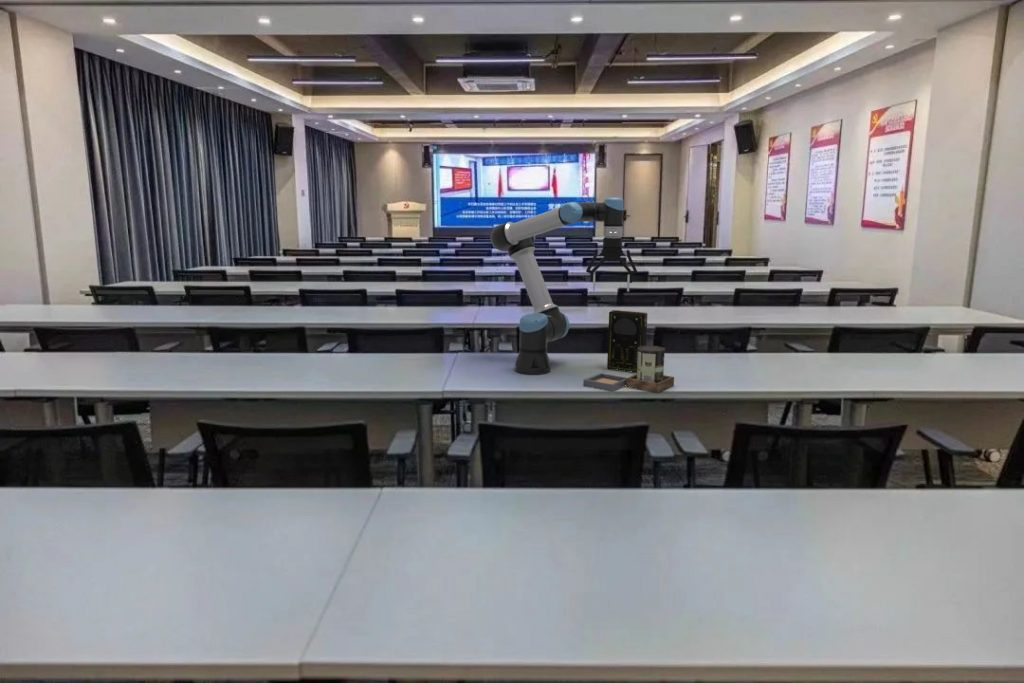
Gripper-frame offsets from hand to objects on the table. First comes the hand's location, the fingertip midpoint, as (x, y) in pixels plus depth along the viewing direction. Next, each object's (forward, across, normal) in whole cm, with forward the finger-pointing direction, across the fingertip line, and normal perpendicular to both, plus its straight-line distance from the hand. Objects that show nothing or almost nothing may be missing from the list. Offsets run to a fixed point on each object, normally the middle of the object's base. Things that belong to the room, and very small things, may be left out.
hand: (610, 290), depth 276 cm
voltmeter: (+35, +8, +9) cm, 37 cm away
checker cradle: (+35, -1, -17) cm, 39 cm away
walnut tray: (+35, +16, -16) cm, 42 cm away
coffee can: (+34, +16, -16) cm, 41 cm away
